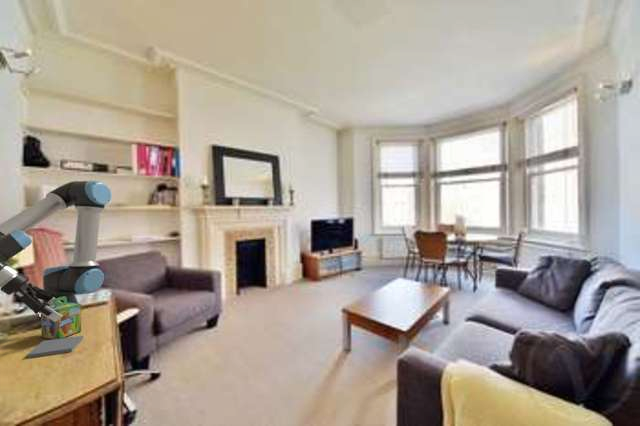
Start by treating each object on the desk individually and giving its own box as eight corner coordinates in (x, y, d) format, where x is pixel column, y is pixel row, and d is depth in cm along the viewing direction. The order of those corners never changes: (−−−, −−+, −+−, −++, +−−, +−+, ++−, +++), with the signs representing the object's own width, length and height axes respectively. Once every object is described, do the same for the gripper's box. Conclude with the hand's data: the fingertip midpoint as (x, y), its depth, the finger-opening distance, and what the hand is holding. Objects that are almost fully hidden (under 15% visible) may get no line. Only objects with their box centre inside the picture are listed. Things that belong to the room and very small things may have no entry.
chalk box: (58, 340, 114) (58, 301, 114) (39, 338, 116) (39, 300, 116) (82, 331, 123) (82, 295, 123) (65, 329, 125) (65, 293, 125)
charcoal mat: (42, 344, 111) (42, 340, 111) (82, 338, 116) (82, 335, 116) (26, 358, 100) (26, 354, 100) (71, 351, 105) (71, 348, 105)
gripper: (10, 282, 120) (58, 313, 128) (-14, 296, 99) (46, 332, 107) (28, 267, 123) (74, 298, 131) (8, 278, 102) (65, 314, 110)
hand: (62, 314), depth 119 cm, fingers open, 13 cm apart
